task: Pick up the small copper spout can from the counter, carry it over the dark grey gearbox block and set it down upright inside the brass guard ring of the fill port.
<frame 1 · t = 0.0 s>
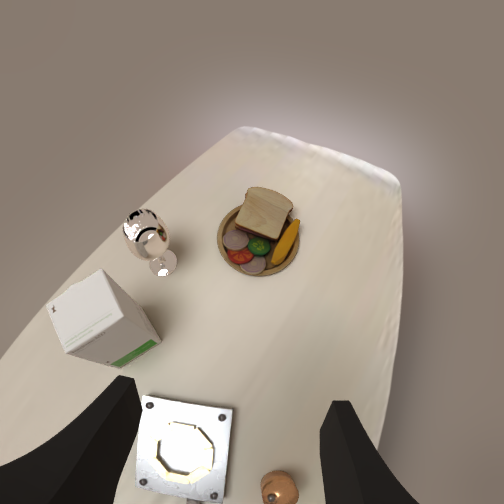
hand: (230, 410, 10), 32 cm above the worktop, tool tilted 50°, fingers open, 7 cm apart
copper spout can: (276, 483, 34), on the worktop
wineglass: (163, 263, 47), on the worktop
toy sandwich meal: (257, 236, 50), on the worktop
skincare box: (130, 336, 43), on the worktop
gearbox: (184, 448, 36), on the worktop
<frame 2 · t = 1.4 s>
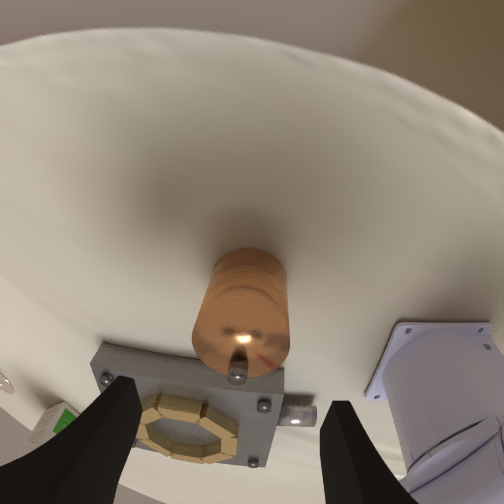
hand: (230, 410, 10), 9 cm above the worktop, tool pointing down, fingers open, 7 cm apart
copper spout can: (249, 281, 19), on the worktop
wineglass: (2, 380, 28), on the worktop
skincare box: (78, 423, 29), on the worktop
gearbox: (191, 405, 24), on the worktop
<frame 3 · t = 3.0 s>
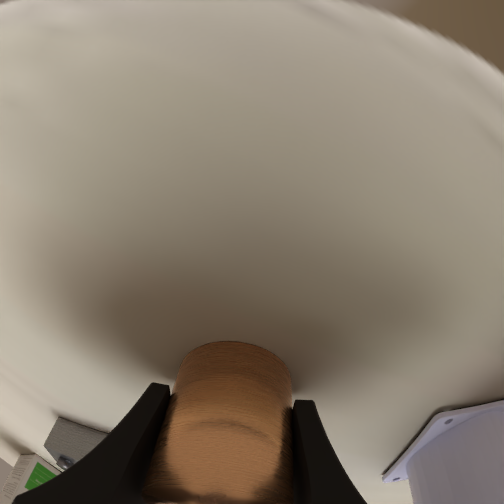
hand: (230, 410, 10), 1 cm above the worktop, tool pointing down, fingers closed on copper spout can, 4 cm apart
copper spout can: (234, 382, 12), on the worktop, touching gripper
skincare box: (55, 472, 22), on the worktop
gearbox: (172, 483, 17), on the worktop
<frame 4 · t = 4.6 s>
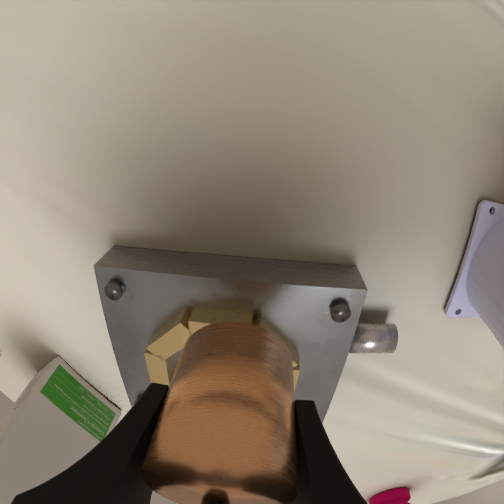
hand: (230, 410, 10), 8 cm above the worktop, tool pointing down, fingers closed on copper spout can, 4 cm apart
copper spout can: (236, 365, 12), point 7 cm above the worktop, touching gripper
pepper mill: (388, 494, 33), on the worktop
skincare box: (75, 389, 25), on the worktop
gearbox: (228, 339, 20), on the worktop
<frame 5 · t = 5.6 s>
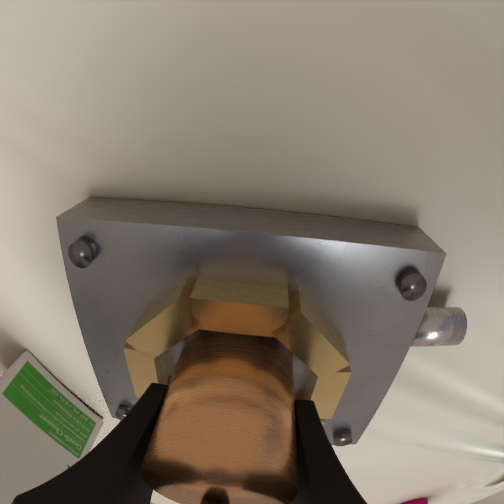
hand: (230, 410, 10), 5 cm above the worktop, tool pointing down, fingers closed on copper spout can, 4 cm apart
copper spout can: (236, 364, 12), point 3 cm above the worktop, touching gripper
skincare box: (50, 392, 19), on the worktop
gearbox: (241, 331, 15), on the worktop
when the fingers open (5 cm above the worktop, at t = 6.4 s): copper spout can stays where it is, resting on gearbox.
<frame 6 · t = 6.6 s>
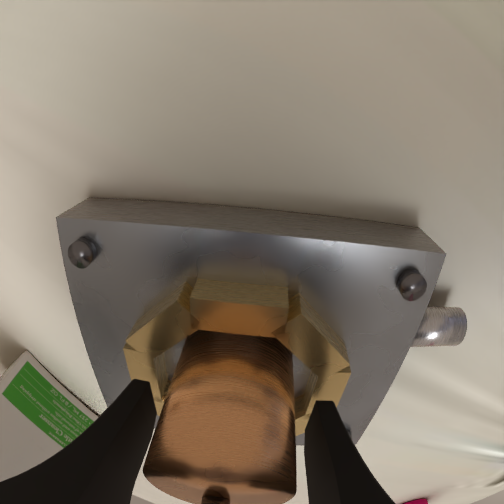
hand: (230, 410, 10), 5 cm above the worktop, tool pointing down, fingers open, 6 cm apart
copper spout can: (236, 361, 12), point 3 cm above the worktop, touching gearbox
skincare box: (50, 392, 19), on the worktop
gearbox: (241, 332, 15), on the worktop
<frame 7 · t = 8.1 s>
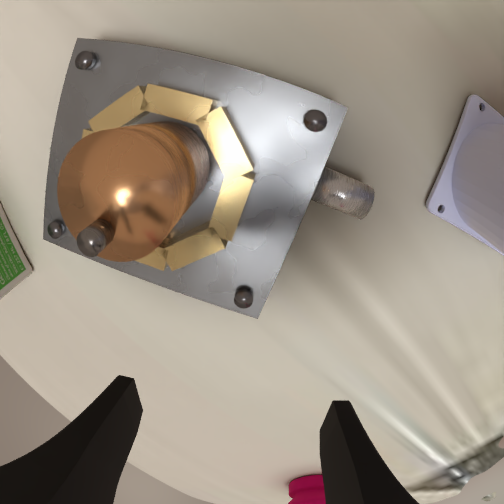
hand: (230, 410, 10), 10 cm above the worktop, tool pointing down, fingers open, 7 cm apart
copper spout can: (164, 166, 14), point 3 cm above the worktop, touching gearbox
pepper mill: (312, 481, 32), on the worktop
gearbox: (176, 167, 17), on the worktop
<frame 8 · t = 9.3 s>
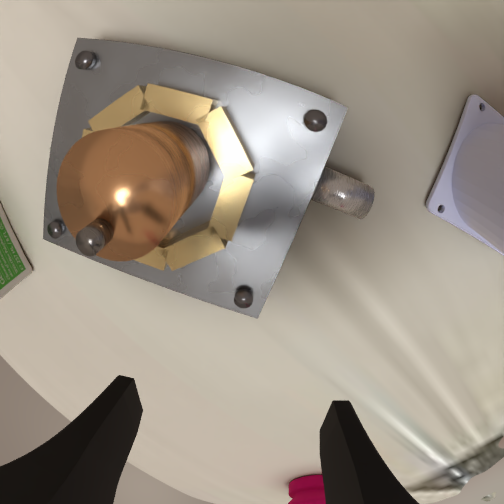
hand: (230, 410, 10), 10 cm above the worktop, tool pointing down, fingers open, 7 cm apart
copper spout can: (164, 166, 14), point 3 cm above the worktop, touching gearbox
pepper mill: (312, 481, 32), on the worktop
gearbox: (176, 167, 17), on the worktop
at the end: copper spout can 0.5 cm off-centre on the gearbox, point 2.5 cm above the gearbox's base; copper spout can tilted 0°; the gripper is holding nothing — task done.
